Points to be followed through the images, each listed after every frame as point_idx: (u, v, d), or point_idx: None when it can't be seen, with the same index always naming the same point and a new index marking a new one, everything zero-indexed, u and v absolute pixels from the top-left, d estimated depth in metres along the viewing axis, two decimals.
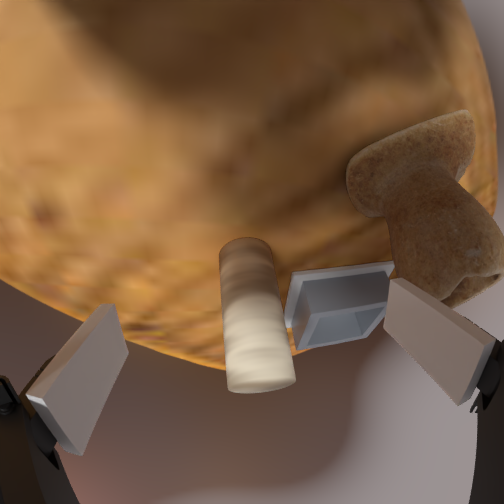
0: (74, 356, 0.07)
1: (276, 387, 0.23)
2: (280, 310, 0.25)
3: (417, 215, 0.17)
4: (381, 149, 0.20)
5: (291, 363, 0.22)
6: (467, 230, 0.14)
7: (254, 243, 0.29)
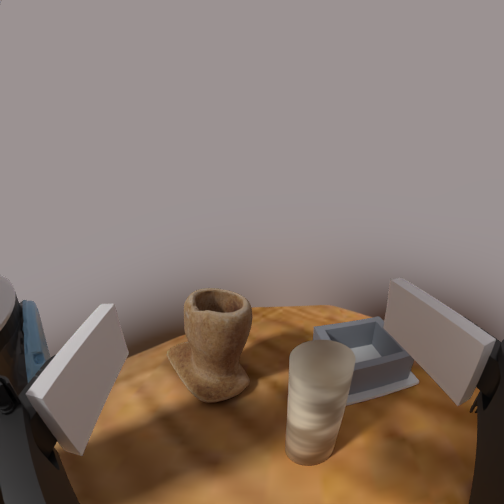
0: (74, 356, 0.07)
1: (333, 346, 0.24)
2: None
3: (199, 351, 0.35)
4: (192, 387, 0.36)
5: None
6: (186, 324, 0.36)
7: (285, 441, 0.27)
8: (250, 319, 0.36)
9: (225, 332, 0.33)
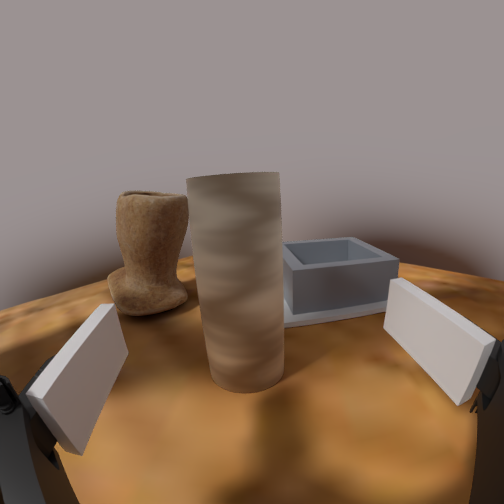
0: (74, 356, 0.07)
1: None
2: None
3: (125, 247, 0.30)
4: (118, 299, 0.30)
5: None
6: (116, 219, 0.31)
7: None
8: (183, 209, 0.31)
9: (150, 215, 0.28)
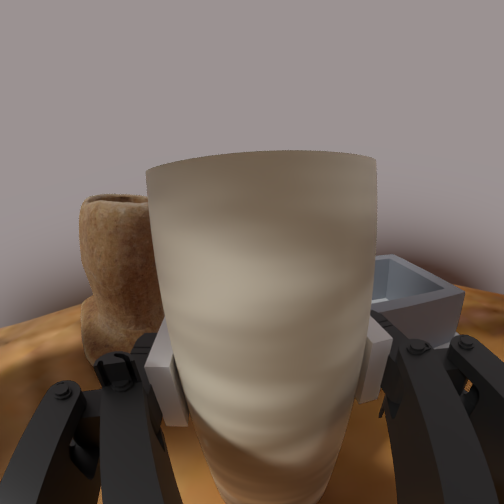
0: None
1: None
2: None
3: (90, 277, 0.19)
4: (87, 345, 0.20)
5: None
6: None
7: None
8: None
9: (119, 232, 0.18)
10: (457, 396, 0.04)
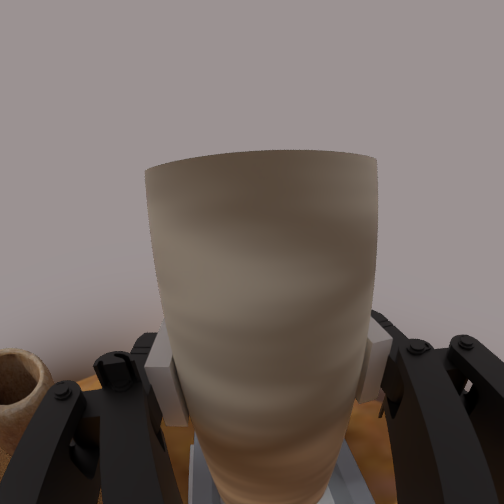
0: None
1: None
2: None
3: None
4: None
5: None
6: None
7: None
8: None
9: None
10: (457, 396, 0.04)
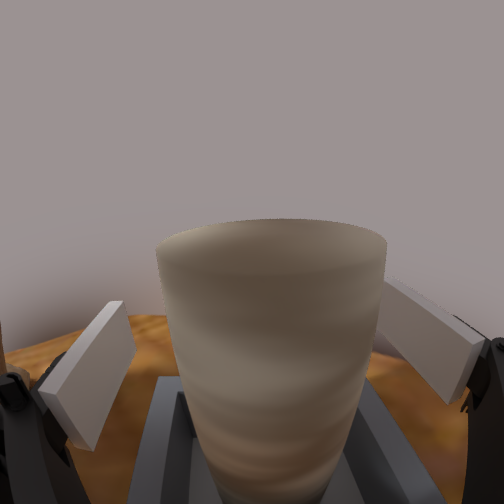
0: (86, 352, 0.07)
1: (309, 224, 0.09)
2: None
3: None
4: None
5: None
6: None
7: None
8: None
9: None
10: None
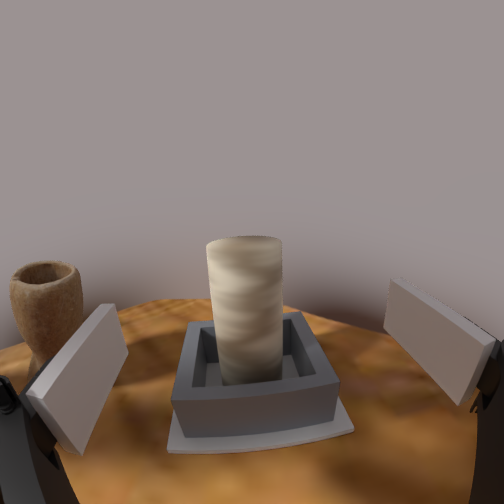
0: (74, 356, 0.07)
1: (259, 238, 0.23)
2: None
3: None
4: (29, 381, 0.21)
5: None
6: None
7: None
8: (65, 297, 0.22)
9: (28, 309, 0.19)
10: None
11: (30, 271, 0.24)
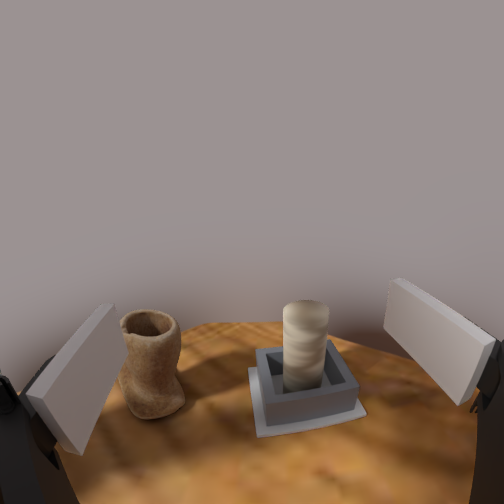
0: (74, 356, 0.07)
1: (313, 304, 0.36)
2: None
3: (130, 371, 0.33)
4: (130, 403, 0.34)
5: None
6: None
7: None
8: (176, 343, 0.35)
9: (148, 355, 0.32)
10: None
11: (130, 320, 0.37)
